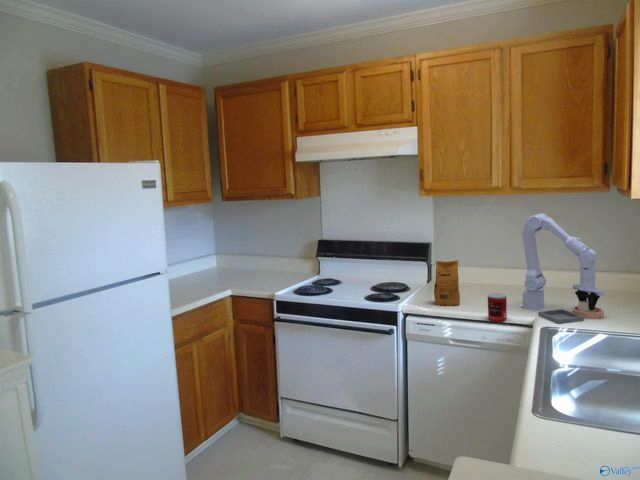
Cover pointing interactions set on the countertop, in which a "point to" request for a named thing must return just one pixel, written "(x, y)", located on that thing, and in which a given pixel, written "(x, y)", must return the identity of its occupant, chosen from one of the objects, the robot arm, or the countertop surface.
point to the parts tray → (561, 316)
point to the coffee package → (447, 283)
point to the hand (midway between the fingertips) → (587, 308)
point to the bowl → (589, 313)
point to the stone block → (584, 306)
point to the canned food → (497, 307)
